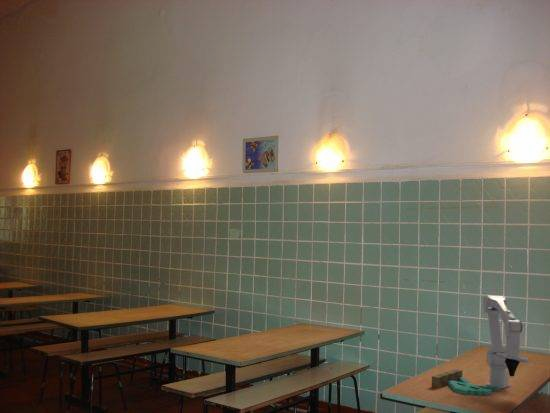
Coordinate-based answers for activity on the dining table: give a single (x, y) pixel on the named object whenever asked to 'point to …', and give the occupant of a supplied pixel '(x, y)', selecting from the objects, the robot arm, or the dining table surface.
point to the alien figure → (470, 387)
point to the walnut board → (446, 378)
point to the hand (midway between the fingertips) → (511, 375)
